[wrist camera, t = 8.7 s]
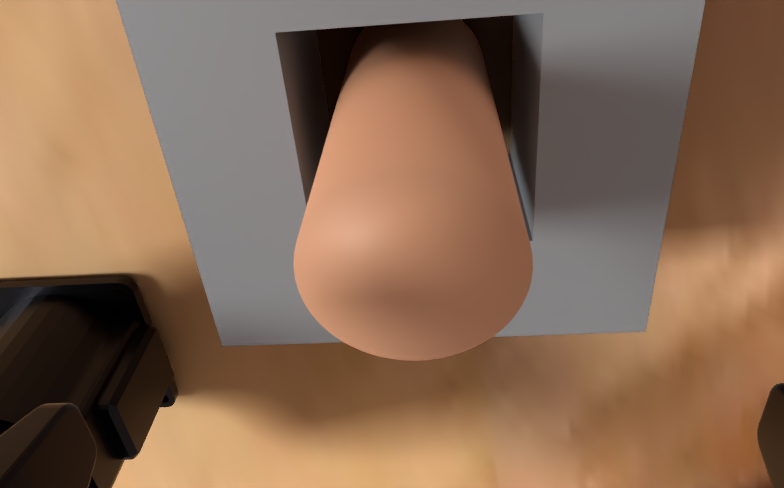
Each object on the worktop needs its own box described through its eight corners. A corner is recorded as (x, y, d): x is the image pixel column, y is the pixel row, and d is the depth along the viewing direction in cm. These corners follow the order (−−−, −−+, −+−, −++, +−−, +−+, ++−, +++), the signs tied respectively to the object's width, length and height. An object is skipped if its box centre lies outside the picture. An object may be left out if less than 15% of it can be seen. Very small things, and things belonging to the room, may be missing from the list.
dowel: (357, 139, 20) (312, 364, 12) (341, 8, 18) (273, 174, 10) (484, 131, 20) (528, 356, 12) (483, -2, 18) (538, 159, 10)
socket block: (258, 249, 23) (222, 346, 19) (164, -143, 16) (76, -129, 12) (603, 233, 22) (645, 331, 18) (653, -190, 15) (740, -191, 11)
